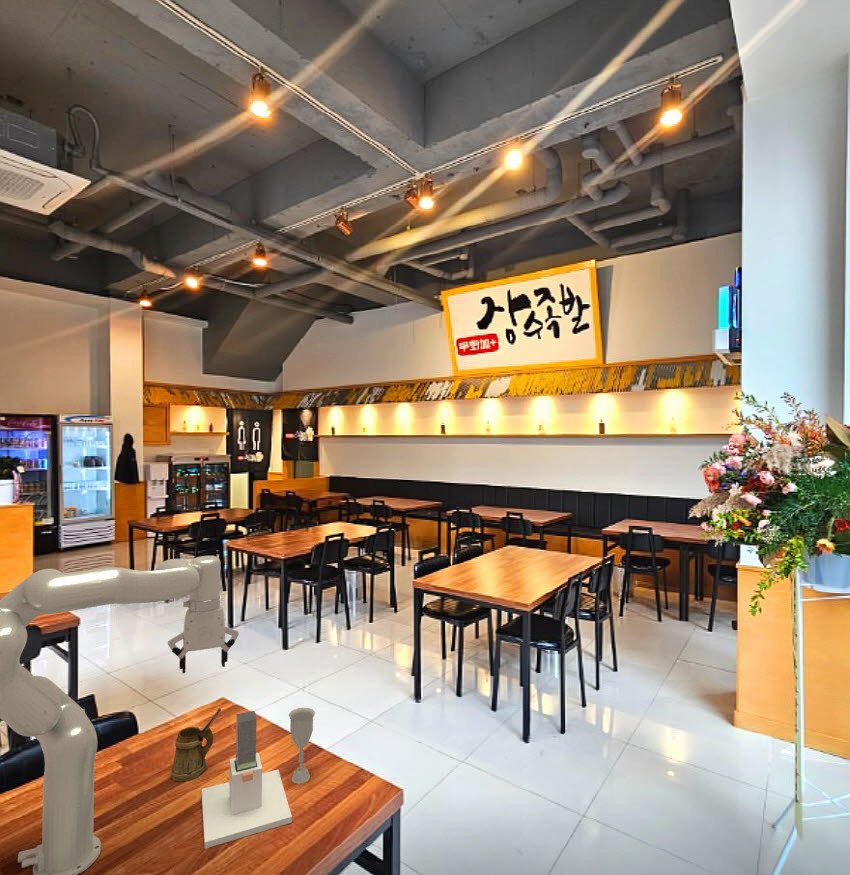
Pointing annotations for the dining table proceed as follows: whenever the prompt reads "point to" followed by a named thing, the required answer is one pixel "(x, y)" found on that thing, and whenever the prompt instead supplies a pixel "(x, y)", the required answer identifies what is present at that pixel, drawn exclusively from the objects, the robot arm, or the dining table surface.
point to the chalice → (301, 738)
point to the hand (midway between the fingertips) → (203, 668)
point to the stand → (244, 805)
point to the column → (246, 741)
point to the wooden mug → (192, 751)
